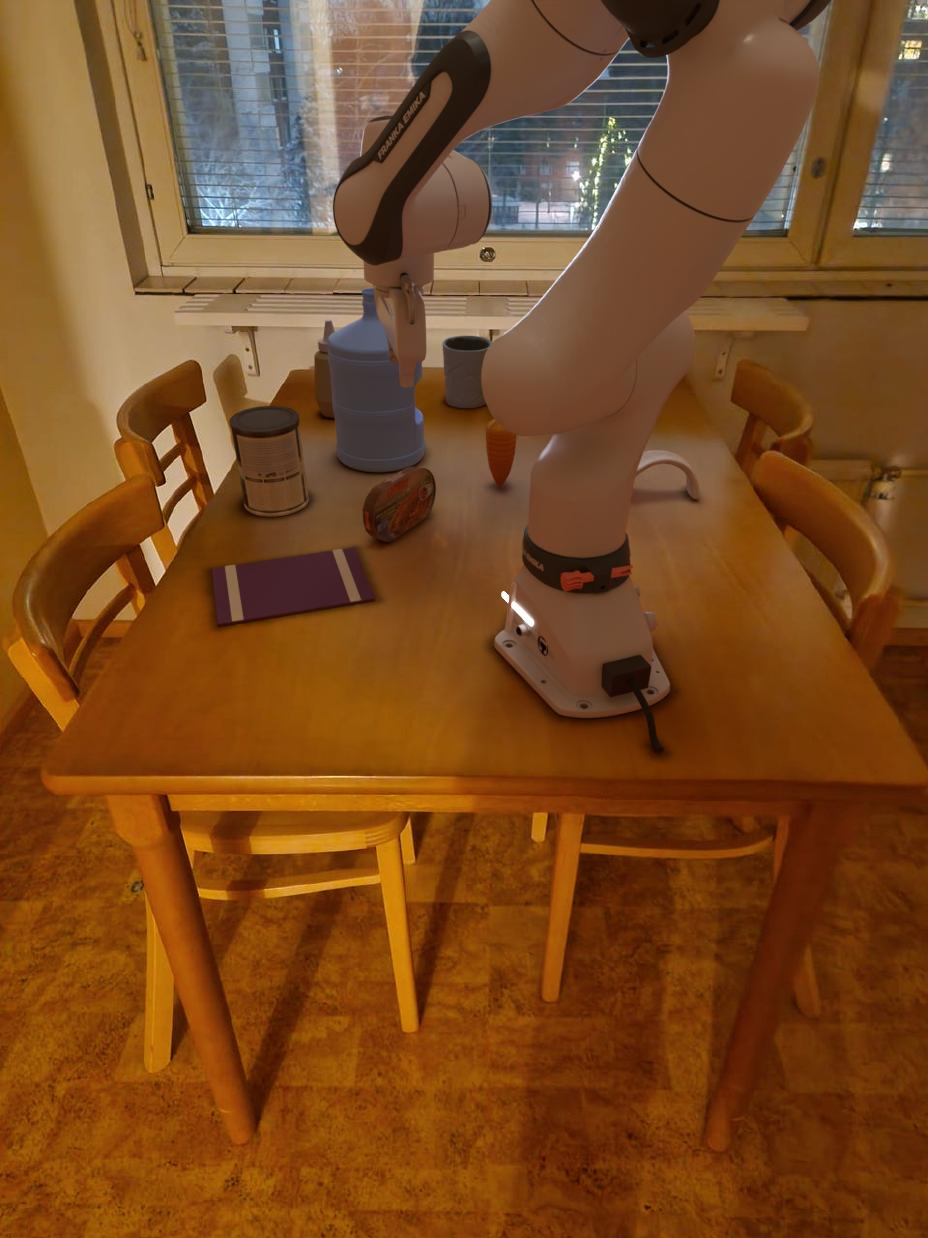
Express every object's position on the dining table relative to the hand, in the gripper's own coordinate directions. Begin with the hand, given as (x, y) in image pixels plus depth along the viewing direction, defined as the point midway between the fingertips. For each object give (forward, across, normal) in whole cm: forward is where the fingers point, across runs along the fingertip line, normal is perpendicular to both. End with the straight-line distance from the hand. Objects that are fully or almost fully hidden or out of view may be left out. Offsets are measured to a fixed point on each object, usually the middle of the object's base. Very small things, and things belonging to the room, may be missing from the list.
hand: (400, 373), depth 110 cm
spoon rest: (+23, +2, -36) cm, 43 cm away
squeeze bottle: (+25, +48, +6) cm, 55 cm away
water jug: (+24, +26, 0) cm, 35 cm away
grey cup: (+24, +50, -21) cm, 59 cm away
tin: (+23, -1, +1) cm, 23 cm away
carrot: (+23, +9, -18) cm, 31 cm away
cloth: (+23, -14, +18) cm, 32 cm away
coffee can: (+24, +11, +19) cm, 32 cm away
